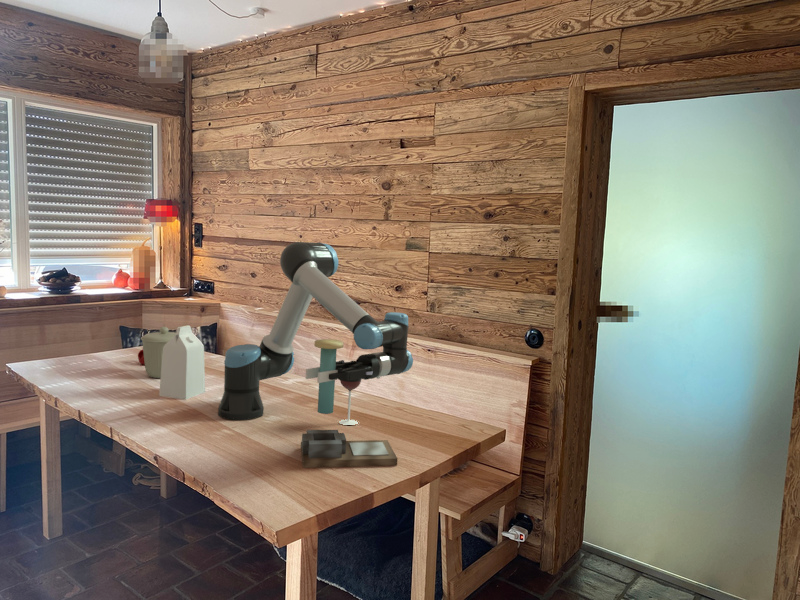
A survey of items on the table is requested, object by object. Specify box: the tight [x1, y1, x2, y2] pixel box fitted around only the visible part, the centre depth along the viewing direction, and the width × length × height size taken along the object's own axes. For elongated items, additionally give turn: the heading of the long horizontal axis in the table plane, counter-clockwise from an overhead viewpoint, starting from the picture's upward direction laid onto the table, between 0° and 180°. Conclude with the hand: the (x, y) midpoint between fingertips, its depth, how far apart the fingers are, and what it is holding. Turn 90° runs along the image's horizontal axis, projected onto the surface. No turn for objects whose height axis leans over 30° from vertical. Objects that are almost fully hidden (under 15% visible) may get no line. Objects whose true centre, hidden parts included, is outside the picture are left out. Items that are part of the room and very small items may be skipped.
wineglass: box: [338, 378, 363, 425], centre depth 198 cm, size 8×9×20 cm
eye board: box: [300, 429, 399, 469], centre depth 167 cm, size 26×15×6 cm, turn 102°
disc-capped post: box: [314, 338, 344, 415], centre depth 164 cm, size 8×8×20 cm
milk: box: [158, 324, 206, 401], centre depth 221 cm, size 12×12×26 cm
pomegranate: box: [137, 349, 145, 366], centre depth 267 cm, size 10×10×9 cm
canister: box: [140, 326, 176, 379], centre depth 247 cm, size 18×18×21 cm
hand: (312, 375), depth 160 cm, fingers closed on disc-capped post, 4 cm apart
